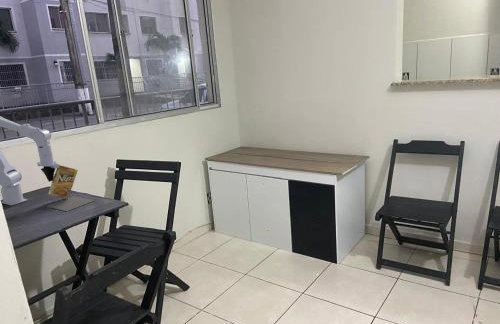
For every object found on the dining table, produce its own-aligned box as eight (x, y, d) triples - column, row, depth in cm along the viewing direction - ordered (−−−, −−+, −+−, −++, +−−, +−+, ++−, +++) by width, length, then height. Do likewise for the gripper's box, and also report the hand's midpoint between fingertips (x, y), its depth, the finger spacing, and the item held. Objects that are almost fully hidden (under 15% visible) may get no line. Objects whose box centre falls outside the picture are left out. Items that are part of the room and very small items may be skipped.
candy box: (49, 195, 178) (60, 165, 180) (47, 193, 181) (58, 164, 183) (68, 199, 184) (78, 169, 185) (65, 197, 187) (75, 168, 189)
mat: (46, 206, 175) (46, 206, 175) (74, 196, 188) (74, 196, 188) (66, 211, 167) (66, 211, 167) (94, 200, 180) (94, 200, 180)
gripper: (62, 153, 178) (67, 180, 181) (44, 151, 185) (50, 177, 189) (48, 156, 172) (53, 184, 176) (31, 154, 179) (36, 181, 183)
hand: (51, 181), depth 182 cm, fingers closed
